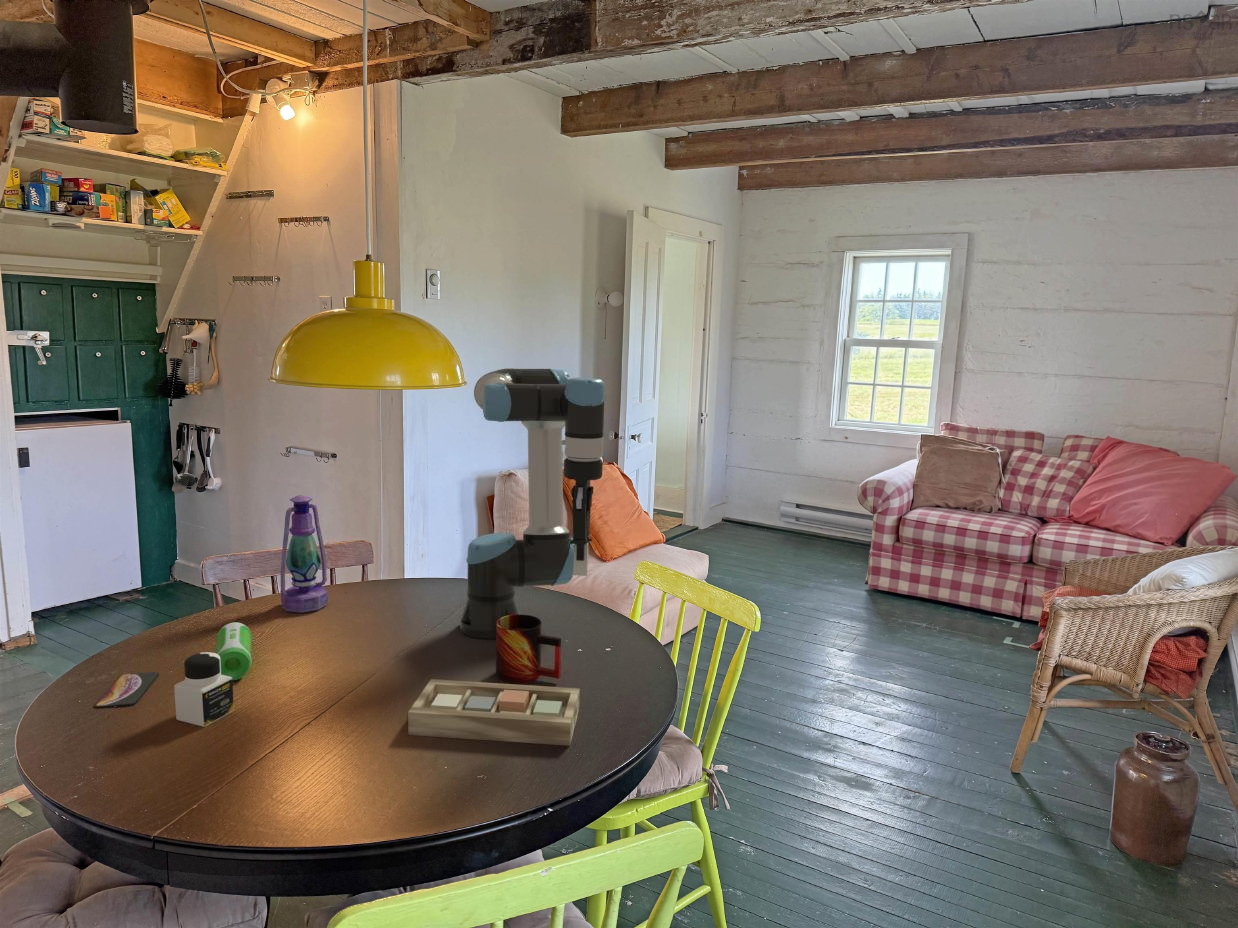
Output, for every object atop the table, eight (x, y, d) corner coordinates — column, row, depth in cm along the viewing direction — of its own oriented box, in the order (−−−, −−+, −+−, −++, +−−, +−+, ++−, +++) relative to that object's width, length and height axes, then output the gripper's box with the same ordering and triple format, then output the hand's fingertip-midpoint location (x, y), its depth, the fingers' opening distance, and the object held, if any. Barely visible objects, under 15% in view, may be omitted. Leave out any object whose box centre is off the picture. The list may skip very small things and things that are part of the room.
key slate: (471, 705, 158) (471, 695, 158) (495, 706, 158) (495, 697, 157) (464, 717, 153) (464, 707, 153) (489, 718, 153) (490, 708, 152)
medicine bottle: (204, 727, 150) (201, 666, 148) (175, 720, 152) (171, 659, 150) (235, 711, 156) (231, 652, 154) (206, 704, 159) (203, 646, 157)
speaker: (217, 653, 183) (215, 621, 181) (252, 648, 185) (251, 617, 184) (213, 685, 167) (211, 651, 165) (252, 680, 170) (251, 646, 168)
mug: (560, 683, 173) (561, 630, 171) (495, 684, 171) (495, 631, 169) (559, 664, 182) (560, 614, 180) (496, 665, 181) (497, 614, 179)
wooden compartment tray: (431, 700, 163) (431, 679, 163) (579, 709, 161) (579, 688, 161) (408, 734, 150) (408, 711, 149) (570, 745, 148) (570, 722, 147)
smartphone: (91, 706, 155) (121, 673, 170) (92, 710, 155) (121, 677, 170) (134, 703, 157) (160, 670, 171) (135, 707, 157) (160, 674, 171)
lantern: (296, 618, 204) (292, 502, 199) (268, 608, 210) (263, 495, 205) (340, 604, 215) (337, 494, 210) (312, 595, 221) (308, 487, 216)
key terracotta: (504, 699, 157) (504, 689, 157) (528, 700, 157) (528, 691, 156) (498, 710, 152) (499, 700, 152) (524, 712, 152) (524, 702, 152)
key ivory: (438, 703, 158) (438, 693, 158) (462, 704, 158) (462, 695, 158) (431, 714, 154) (430, 704, 153) (456, 716, 153) (456, 706, 153)
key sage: (537, 709, 157) (537, 699, 157) (561, 711, 157) (562, 701, 156) (532, 721, 152) (533, 711, 152) (558, 723, 152) (558, 713, 152)
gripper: (568, 451, 164) (566, 563, 168) (559, 462, 152) (557, 583, 156) (605, 453, 164) (602, 565, 168) (599, 464, 151) (595, 585, 155)
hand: (580, 574), depth 162 cm, fingers closed
